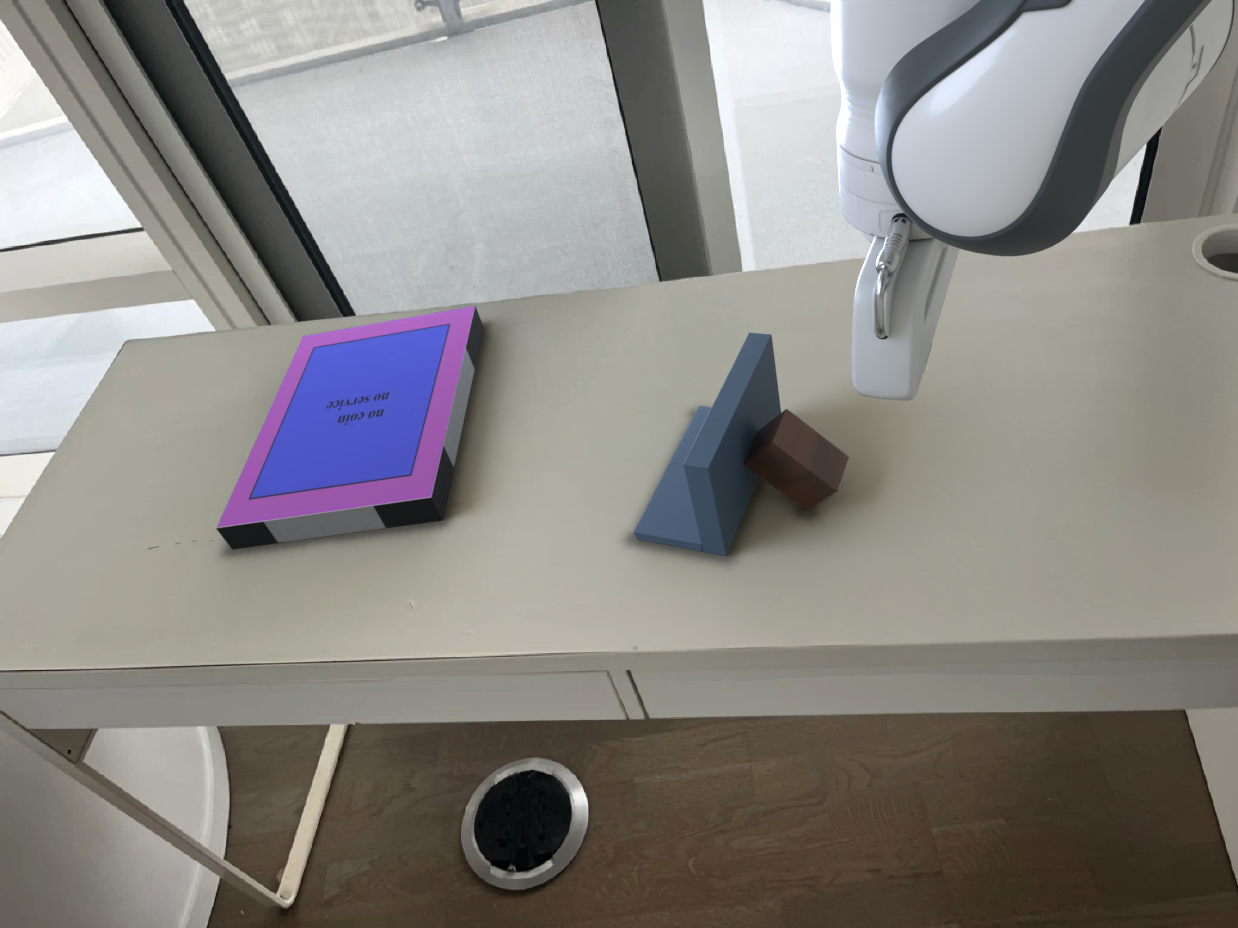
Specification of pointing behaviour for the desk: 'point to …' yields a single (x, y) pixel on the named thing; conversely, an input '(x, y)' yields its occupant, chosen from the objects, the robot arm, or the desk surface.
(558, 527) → the desk surface
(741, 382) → the bookend
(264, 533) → the book
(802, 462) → the walnut block
